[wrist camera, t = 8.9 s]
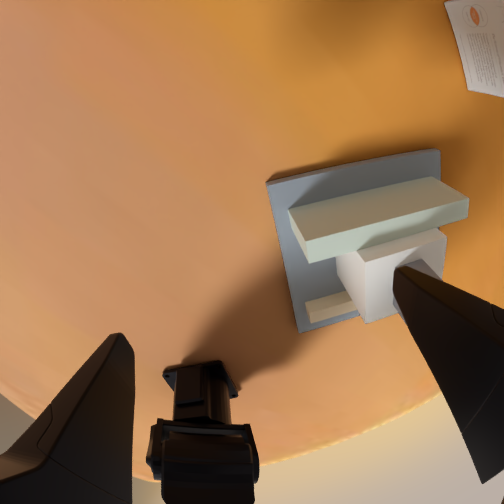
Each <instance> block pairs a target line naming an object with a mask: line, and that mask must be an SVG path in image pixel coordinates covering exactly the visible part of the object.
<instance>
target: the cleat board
mask: <svg viewBox="0 0 504 504" xmlns="http://www.w3.org/2000/svg"><path fill="white" fill-rule="evenodd" d="M266 186H267V190H268V195H269V199H270V203H271V208H272V212H273V217H274V221H275V225H276V230H277V234H278V239H279V243H280V248H281V253H282V257H283V262H284V267H285V271H286V276H287V281H288V285H289V290H290V295H291V300H292V305H293V309H294V314H295V319H296V324H297V329H298V332H299V333H303V332H306V331H310V330H313V329H317V328H320V327H324V326H327V325H331V324H334V323H337V322H341V321H344V320H347V319H350V318H354V317H357V316H360V314H359V312H358V310H357V308H356V306H355V305H354V303H353V301H352V299H351V297H350V296H349V294H348V292H347V290H346V289H345V287H344V285H343V283H342V282H341V280H340V278H339V277H338V275H337V268H336V258H335V256H339V255H343V254H346V253H350V252H353V251H357V250H360V249H364V248H368V247H371V246H375V245H378V244H382V243H385V242H389V241H392V240H395V239H399V238H402V237H406V236H409V235H413V234H416V233H419V232H423V231H426V230H429V229H433V228H437V229H438V230H439V226H443V225H446V224H449V223H453V222H456V221H459V220H462V219H466V218H468V207H469V198H468V197H467V196H465V195H463V194H462V193H460V192H458V191H457V190H455V189H453V188H452V187H450V186H448V185H446V184H445V183H443V182H441V159H440V150H438V149H436V148H431V149H425V150H419V151H413V152H407V153H401V154H395V155H390V156H384V157H379V158H373V159H368V160H363V161H358V162H353V163H348V164H343V165H338V166H334V167H329V168H324V169H320V170H315V171H311V172H307V173H302V174H298V175H294V176H289V177H285V178H281V179H277V180H273V181H269V182H266Z"/></svg>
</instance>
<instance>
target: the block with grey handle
mask: <svg viewBox="0 0 504 504" xmlns="http://www.w3.org/2000/svg"><path fill="white" fill-rule="evenodd" d="M446 244H447V236H446V235H444V234H443V233H442V232H441V231H440V230H438V229H437V228H433V229H429V230H426V231H423V232H419V233H416V234H413V235H409V236H406V237H402V238H399V239H395V240H392V241H389V242H385V243H382V244H378V245H375V246H371V247H368V248H364V249H360V250H357V251H353V252H350V253H346V254H343V255H339V256H335V258H336V268H337V275H338V277H339V278H340V280H341V282H342V283H343V285H344V287H345V289H346V290H347V292H348V294H349V296H350V297H351V299H352V301H353V303H354V305H355V306H356V308H357V310H358V312H359V314H360V315H361V317H362V319H363V321H364V323H365V324H367V323H370V322H373V321H376V320H379V319H382V318H385V317H388V316H391V315H394V314H396V313H399V314H400V316H401V317H402V319H403V320H404V322H405V319H404V317H403V315H402V313H401V310H400V308H399V306H398V304H397V301H396V299H395V297H394V295H393V290H392V287H393V274H394V270H395V269H396V268H398V267H401V266H409V267H411V268H413V269H416V270H418V271H420V272H423V273H425V274H427V275H430V276H432V277H434V278H436V279H439V280H441V281H443V280H442V274H443V268H444V260H445V253H446ZM405 323H406V322H405ZM406 325H407V324H406Z"/></svg>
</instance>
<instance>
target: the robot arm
mask: <svg viewBox="0 0 504 504" xmlns="http://www.w3.org/2000/svg"><path fill="white" fill-rule="evenodd" d="M392 290H393V295H394V297H395V299H396V301H397V304H398V306H399V308H400V310H401V313H402V315H403V317H404V319H405V322H406V324H407V326H408V329H409V331H410V333H411V335H412V337H413V338H414V340H415V342H416V344H417V346H418V347H419V349H420V351H421V353H422V355H423V357H424V358H425V360H426V362H427V364H428V366H429V368H430V370H431V372H432V373H433V375H434V377H435V379H436V381H437V383H438V385H439V387H440V389H441V391H442V393H443V395H444V397H445V399H446V401H447V403H448V406H449V407H450V409H451V412H452V414H453V416H454V418H455V420H456V423H457V425H458V427H459V429H460V432H461V433H462V436H463V439H464V441H465V443H466V446H467V448H468V450H469V453H470V455H471V458H472V460H473V463H474V465H475V468H476V470H477V473H478V476H479V478H480V481H481V483H482V484H484V483H485V482H487V481H488V480H490V479H491V478H493V477H494V476H496V475H497V474H498V473H500V472H501V471H502V470H504V309H502V308H500V307H498V306H496V305H494V304H490V303H489V302H487V301H485V300H483V299H481V298H479V297H476V296H474V295H472V294H470V293H468V292H465V291H463V290H461V289H459V288H457V287H454V286H452V285H450V284H448V283H445V282H443V281H441V280H439V279H436V278H434V277H432V276H430V275H427V274H425V273H423V272H420V271H418V270H416V269H413V268H411V267H409V266H401V267H398V268H396V269H395V270H394V274H393V287H392ZM218 365H219V366H218ZM162 376H163V378H164V379H165V380H166V382H167V383H168V385H169V386H170V387H171V389H172V390H173V391H174V404H173V421H171V420H163V419H161V418H157V424H156V425H153V426H151V433H150V441H149V446H148V451H147V456H146V463H147V464H148V465H149V466H150V467H151V470H152V472H153V476H154V480H161V495H162V498H163V500H164V502H165V503H166V504H254V501H255V497H254V483H257V481H258V478H259V457H258V452H257V448H256V445H255V441H254V438H253V434H252V430H251V426H250V424H244V425H237V424H232V423H231V411H230V399H232V398H236V397H238V391H237V389H236V387H235V385H234V383H233V381H232V379H231V377H230V376H229V374H228V372H227V370H226V368H225V366H224V364H223V362H221V361H214V362H209V363H204V364H199V365H193V366H188V367H182V368H176V369H171V370H165V371H163V375H162ZM134 405H135V355H134V351H133V348H132V347H131V345H130V344H129V342H128V341H127V339H126V337H125V336H124V335H123V334H122V333H114V334H110V335H109V336H108V337H107V338H106V340H105V341H104V342H103V343H102V344H101V345H100V346H99V347H98V348H97V350H96V351H95V352H94V353H93V354H92V355H91V356H90V357H89V359H88V360H87V361H86V362H85V363H84V364H83V365H82V367H81V368H80V369H79V370H78V371H77V372H76V373H75V375H74V376H73V377H72V378H71V379H70V380H69V382H68V383H67V384H66V385H65V386H64V387H63V389H62V390H61V391H60V392H59V393H58V394H57V396H56V397H55V398H54V399H53V400H52V402H51V404H49V405H48V406H47V408H46V409H45V410H44V411H43V412H42V414H41V415H40V416H39V417H38V418H37V419H36V420H35V422H34V423H33V424H32V425H31V426H30V427H29V428H28V429H27V430H26V431H25V433H23V434H22V435H21V437H20V438H19V439H18V440H17V441H16V442H15V443H14V444H13V445H12V446H11V447H10V448H9V449H8V450H7V451H6V452H4V453H3V454H1V455H0V504H132V444H133V422H134ZM501 504H504V498H503V500H502V503H501Z"/></svg>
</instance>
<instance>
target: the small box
mask: <svg viewBox="0 0 504 504" xmlns="http://www.w3.org/2000/svg"><path fill="white" fill-rule="evenodd" d="M444 5H445V8H446V10H447V13H448V16H449V19H450V22H451V25H452V28H453V31H454V35H455V38H456V41H457V45H458V49H459V52H460V56H461V60H462V64H463V69H464V73H465V78H466V83H467V88H468V90H470V91H475V92H480V93H486V94H491V95H495V96H499V97H503V98H504V0H451V1H447V2H444Z"/></svg>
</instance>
